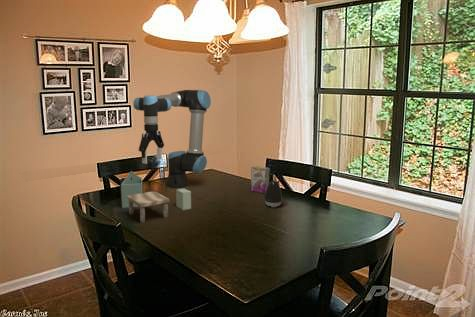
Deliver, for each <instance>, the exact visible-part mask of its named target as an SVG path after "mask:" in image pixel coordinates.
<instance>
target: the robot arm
mask: <svg viewBox="0 0 475 317" xmlns="http://www.w3.org/2000/svg"><path fill="white" fill-rule="evenodd" d="M211 102H212V101H211V96H210V93H209V92H208V91H206V90H202V89H184V90H183V89H182V90H178V91H172V92H171V93H169V94H162V95H153V94H152V95H150V94H149V95H144V96H143V97H135V98H134V99H133V102H132V104H133V108H134V109H135V111H141V112H142V111H143V121H144V124H143V127H144V128H143V130H144V131H145V133H142V134H141V139H140V142H139V143H140V144H139V147H138V152H141V163H142V164H145V165H146V164H148V153H147V149H148V147H149V144H150V143H151V141H153V142H154V143H155V145H156V146H157V148H156V158H157V160H162V159H163V156H162V154H163V153H162V152H163V148H164V146H165V143H164V140H163V137H162V135H161V131H160V130H159V124H158V123H159V117H158V116H159V115H158V113H162V112H163V113H164V112H165V113H166V112H168V111H170V110H171V108H172V107H175V108H177V107H182V108H188V111H189V112H190V120H189V121H190V124H189V127H190V128H189V137H188V139H189V140H188V149H187V150H178V151H171V152H169V153H168V155H167V156H168V157H167V160H168V176H167V178H166V182H165V185H166V186H167V187H168V188H174V189H175V188H177V189H179V188H186V187H188V186H189V185H190V184H189V182H190V181H189V179H188V178H189V177H188V176H187V172H190V173H194V174H195V173H197V174H200V173H202V172H203V171H205V169H206V168H207V164H208V159H207V156H205V153H204V151H203V149H202V147H203V134H204V119H205V114H206V112H207V110H208V109H209V108H210V106H211ZM187 185H188V186H187Z"/></svg>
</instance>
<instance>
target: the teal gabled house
mask: <svg viewBox="0 0 475 317" xmlns="http://www.w3.org/2000/svg"><path fill="white" fill-rule="evenodd" d="M131 177H132V180H131ZM124 178H125V177H124ZM140 193H144V192H143V178H142V177H140V176H139V175H138V174H136V173H135V172H133V171H132V170H131V171H130V172H129V173H128V174H127V175H126V178H125V180H124V181H123V182H122V184H121V189H120V198H121V197H122V199H121V208H122V209H124V208H125V209H126V208H129V200H128V199H127V196H129V195H134V194H140ZM137 207H139V206H138V205H136V204H135V203H133V208H137ZM139 208H140V207H139Z"/></svg>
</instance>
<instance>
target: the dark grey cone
mask: <svg viewBox="0 0 475 317" xmlns="http://www.w3.org/2000/svg"><path fill="white" fill-rule="evenodd" d="M280 182H281V180H270V181H269V184H268V187H267V189H266V193H265V194H264V202H265V205H266V206H268V207H269V206H271V207H270V208H277V206H278V207H279V206H280V205H281V204H282V201H283V194H282V189H281V185H280Z"/></svg>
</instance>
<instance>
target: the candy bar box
mask: <svg viewBox="0 0 475 317" xmlns="http://www.w3.org/2000/svg"><path fill="white" fill-rule="evenodd" d="M250 171H251V172H250V191H251V192H253V191H257V192H256V193H258V192H263V193H262V194H264V193H266V189H267V187H268V184H269V183H270V167H264V166H259V165H253V166H251V169H250Z"/></svg>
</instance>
